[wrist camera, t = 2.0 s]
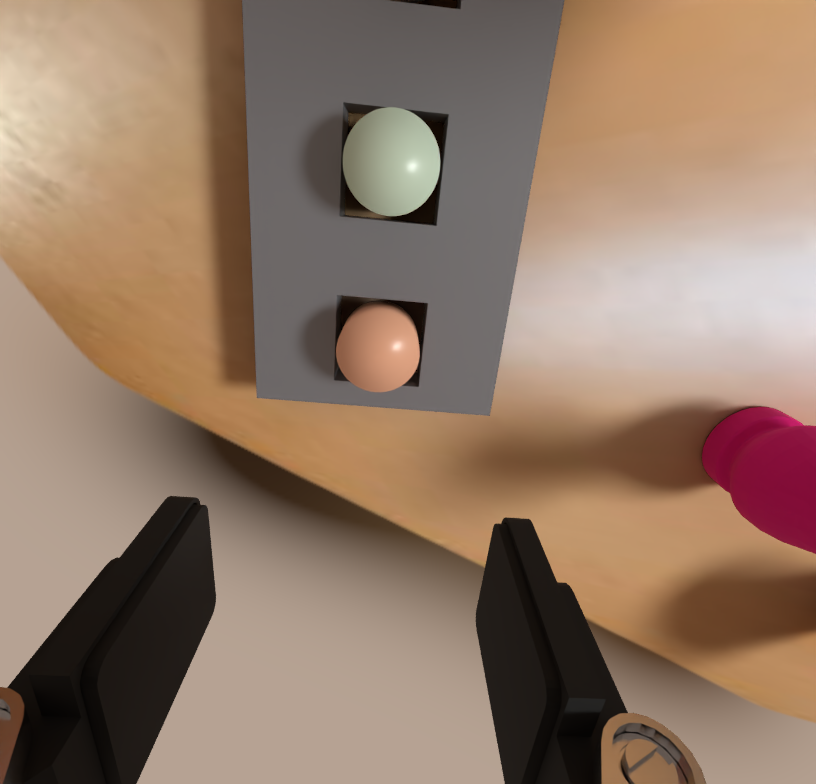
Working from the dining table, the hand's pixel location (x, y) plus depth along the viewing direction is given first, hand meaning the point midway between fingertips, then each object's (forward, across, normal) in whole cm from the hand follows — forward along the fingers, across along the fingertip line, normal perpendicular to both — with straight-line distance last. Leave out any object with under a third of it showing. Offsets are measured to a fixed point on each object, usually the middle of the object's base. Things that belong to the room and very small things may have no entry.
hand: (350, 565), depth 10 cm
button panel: (+20, 0, -9) cm, 22 cm away
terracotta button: (+18, 0, 0) cm, 18 cm away
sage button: (+18, 0, -9) cm, 20 cm away
